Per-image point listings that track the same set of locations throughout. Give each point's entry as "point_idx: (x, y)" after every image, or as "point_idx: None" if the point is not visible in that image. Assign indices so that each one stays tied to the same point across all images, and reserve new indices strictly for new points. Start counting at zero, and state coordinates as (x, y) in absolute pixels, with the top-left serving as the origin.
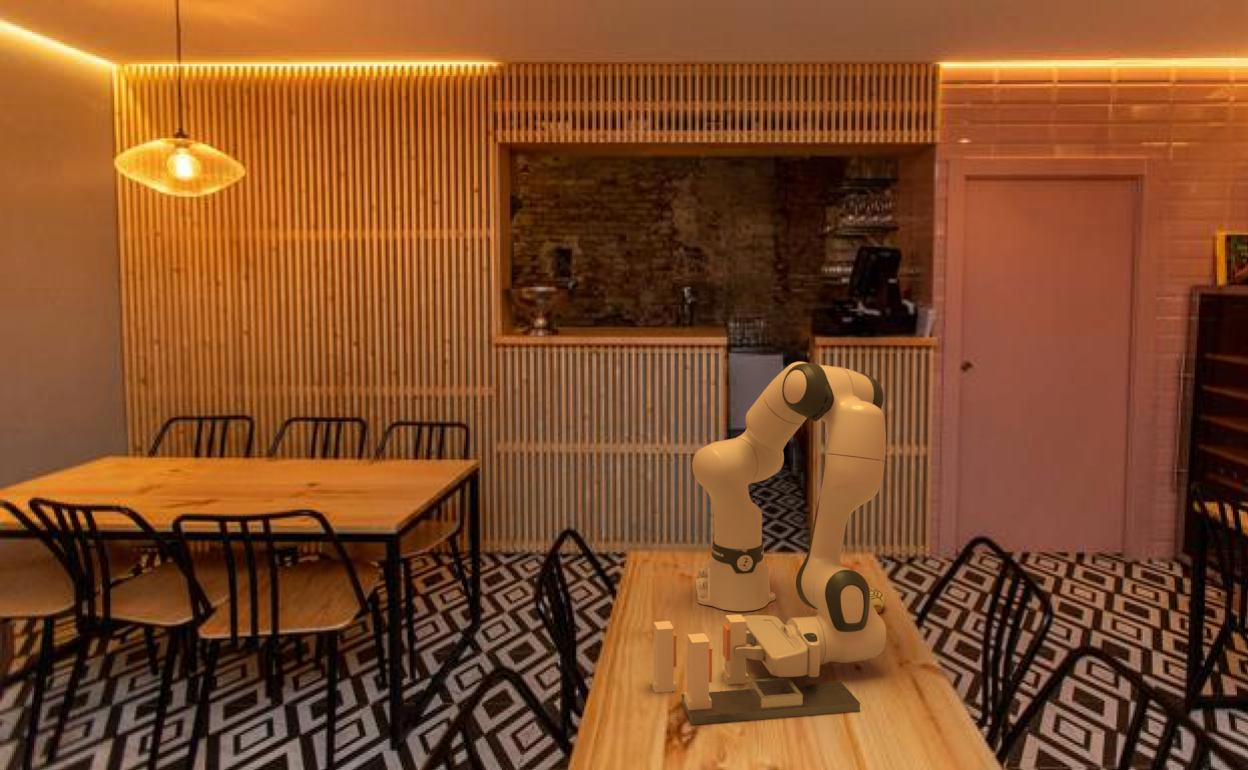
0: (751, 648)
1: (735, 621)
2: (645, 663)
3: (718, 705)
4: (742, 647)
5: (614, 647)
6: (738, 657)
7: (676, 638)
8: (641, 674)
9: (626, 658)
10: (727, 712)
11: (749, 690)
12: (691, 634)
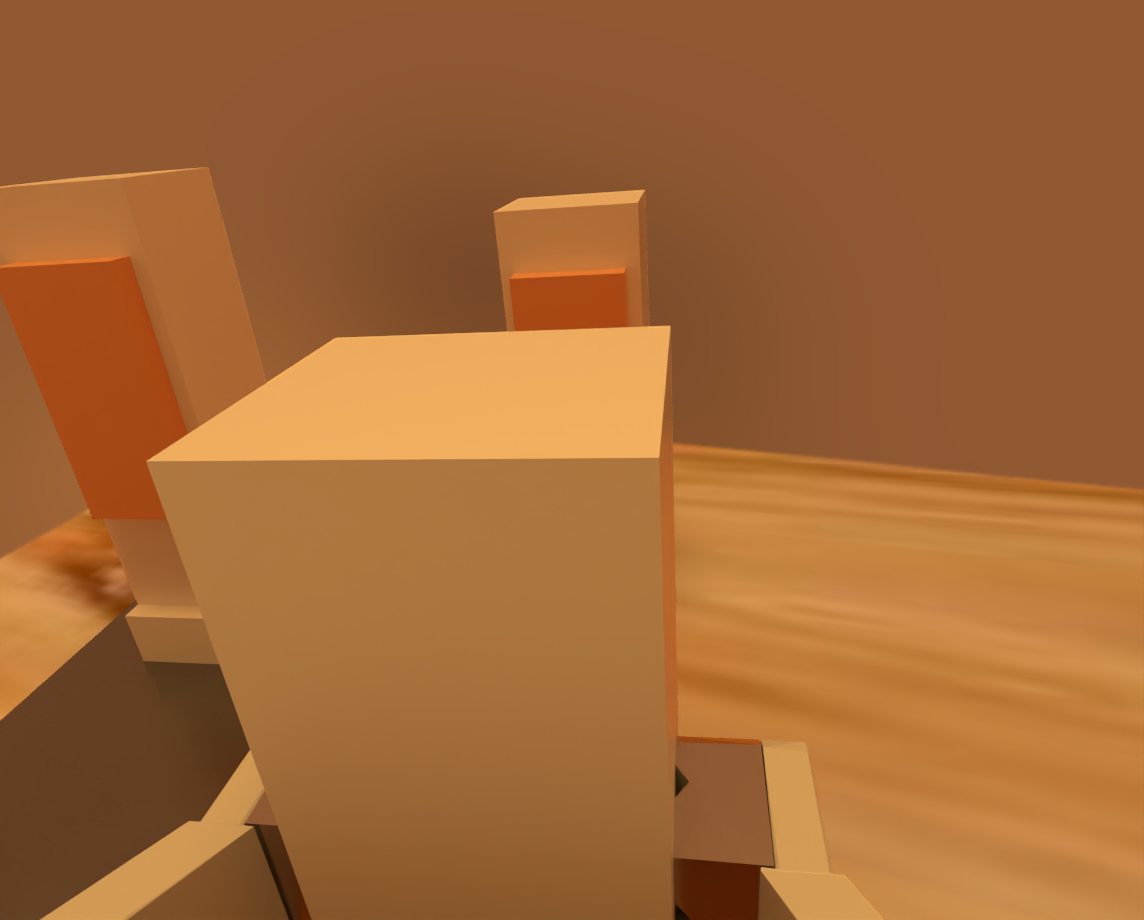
0: (78, 897)
1: (316, 364)
2: (934, 568)
3: (132, 700)
4: (252, 786)
5: (1139, 495)
6: None
7: (512, 302)
8: (781, 540)
9: (991, 516)
10: (15, 721)
11: None
12: (185, 170)
